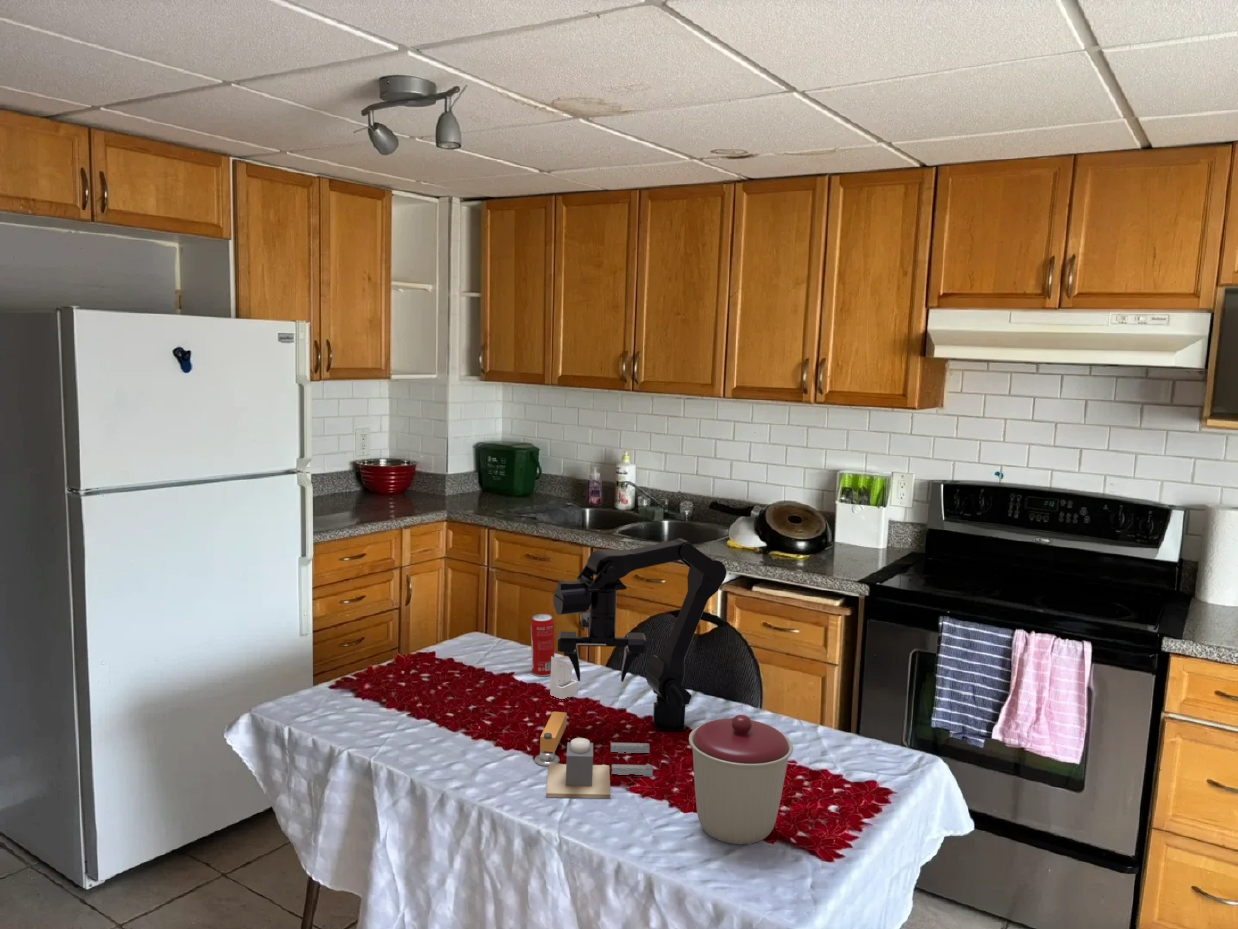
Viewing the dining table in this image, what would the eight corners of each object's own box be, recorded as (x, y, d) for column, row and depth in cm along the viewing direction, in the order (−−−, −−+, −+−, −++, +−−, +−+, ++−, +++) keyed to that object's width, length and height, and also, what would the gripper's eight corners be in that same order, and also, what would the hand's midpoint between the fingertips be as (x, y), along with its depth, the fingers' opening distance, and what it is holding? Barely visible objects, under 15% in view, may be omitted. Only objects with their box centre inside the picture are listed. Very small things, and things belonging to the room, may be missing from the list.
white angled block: (538, 691, 219) (551, 656, 222) (561, 701, 227) (574, 667, 229) (549, 696, 217) (563, 659, 220) (573, 705, 225) (585, 670, 227)
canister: (669, 840, 162) (675, 724, 159) (703, 795, 178) (709, 689, 175) (772, 868, 154) (780, 747, 152) (797, 818, 171) (805, 708, 168)
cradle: (648, 750, 196) (649, 742, 196) (652, 776, 185) (652, 767, 185) (536, 748, 195) (536, 739, 195) (532, 773, 184) (533, 765, 184)
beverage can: (558, 671, 240) (560, 614, 238) (545, 679, 234) (547, 621, 232) (538, 667, 242) (539, 611, 240) (525, 675, 236) (526, 617, 234)
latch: (552, 724, 202) (553, 708, 202) (566, 726, 202) (566, 710, 202) (539, 752, 189) (539, 735, 188) (553, 754, 189) (554, 737, 188)
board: (609, 769, 187) (609, 765, 187) (610, 798, 175) (610, 794, 175) (548, 767, 187) (549, 764, 187) (546, 797, 175) (546, 793, 175)
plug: (591, 772, 184) (593, 735, 183) (591, 786, 178) (593, 749, 177) (566, 771, 184) (567, 735, 183) (565, 786, 178) (566, 748, 177)
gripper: (643, 600, 207) (641, 668, 209) (559, 598, 206) (557, 666, 208) (647, 615, 196) (645, 686, 198) (558, 613, 195) (556, 685, 197)
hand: (600, 680), depth 201 cm, fingers open, 9 cm apart
